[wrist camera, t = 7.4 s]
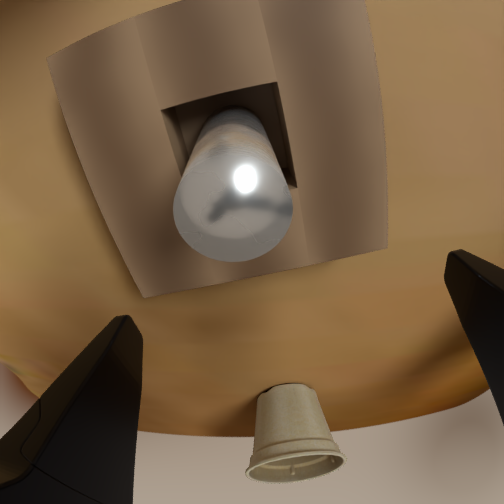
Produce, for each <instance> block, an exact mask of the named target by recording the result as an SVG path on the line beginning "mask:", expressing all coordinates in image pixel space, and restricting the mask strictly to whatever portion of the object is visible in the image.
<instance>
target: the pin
mask: <svg viewBox="0 0 504 504" xmlns="http://www.w3.org/2000/svg"><path fill="white" fill-rule="evenodd" d="M173 215H174V220H175V224H176V227H177V229H178V231H179V233H180V235H181V236H182V238H183V239H184V240H185V241H186V243H187V244H188V245H189V246H191V247H192V248H193V249H194V250H196V251H197V252H199V253H200V254H202V255H204V256H206V257H209V258H211V259H215V260H218V261H224V262H241V261H247V260H251V259H254V258H257V257H259V256H261V255H263V254H265V253H267V252H268V251H270V250H271V249H273V248H274V247H275V246H276V245H277V244H278V243H279V242H280V241H281V240H282V238H283V237H284V236H285V234H286V232H287V230H288V228H289V226H290V223H291V220H292V215H293V203H292V197H291V193H290V191H289V188H288V186H287V183H286V181H285V178H284V176H283V173H282V171H281V168H280V166H279V163H278V161H277V158H276V156H275V153H274V151H273V149H272V146H271V144H270V141H269V139H268V137H267V134H266V132H265V129H264V127H263V125H262V122H261V120H260V119H259V117H258V116H257V115H256V114H255V113H254V112H253V111H251V110H250V109H248V108H246V107H243V106H239V105H228V106H224V107H221V108H219V109H217V110H215V111H214V112H213V113H211V115H210V116H209V117H208V118H207V120H206V121H205V123H204V126H203V128H202V130H201V132H200V135H199V137H198V139H197V142H196V144H195V146H194V149H193V151H192V154H191V156H190V158H189V161H188V163H187V166H186V168H185V171H184V173H183V176H182V178H181V181H180V183H179V186H178V188H177V191H176V194H175V197H174V203H173Z"/></svg>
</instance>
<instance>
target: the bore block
mask: <svg viewBox="0 0 504 504" xmlns="http://www.w3.org/2000/svg"><path fill="white" fill-rule="evenodd" d="M47 62H48V66H49V69H50V73H51V76H52V80H53V83H54V87H55V90H56V93H57V96H58V100H59V103H60V106H61V109H62V112H63V115H64V118H65V121H66V124H67V127H68V130H69V132H70V135H71V138H72V141H73V144H74V146H75V149H76V152H77V154H78V157H79V159H80V162H81V165H82V167H83V170H84V172H85V175H86V177H87V180H88V182H89V185H90V187H91V189H92V192H93V194H94V196H95V199H96V201H97V203H98V206H99V208H100V210H101V213H102V215H103V217H104V219H105V221H106V224H107V226H108V228H109V230H110V232H111V234H112V237H113V239H114V241H115V243H116V245H117V247H118V249H119V251H120V253H121V255H122V257H123V259H124V261H125V263H126V265H127V267H128V269H129V271H130V273H131V275H132V277H133V279H134V281H135V283H136V285H137V287H138V289H139V290H140V292H141V294H142V296H143V298H147V297H153V296H158V295H163V294H169V293H174V292H179V291H185V290H190V289H195V288H200V287H206V286H211V285H216V284H221V283H226V282H231V281H236V280H241V279H246V278H251V277H256V276H261V275H266V274H271V273H275V272H280V271H285V270H290V269H295V268H299V267H304V266H309V265H314V264H318V263H323V262H328V261H332V260H337V259H341V258H346V257H350V256H355V255H359V254H364V253H368V252H373V251H377V250H382V249H386V248H388V186H387V161H386V144H385V131H384V120H383V109H382V100H381V92H380V84H379V76H378V69H377V63H376V56H375V50H374V44H373V39H372V33H371V28H370V23H369V18H368V13H367V9H366V4H365V0H182V1H179V2H175V3H172V4H169V5H166V6H163V7H159V8H156V9H154V10H151V11H148V12H145V13H142V14H139V15H137V16H134V17H132V18H129V19H126V20H124V21H121V22H119V23H117V24H114V25H112V26H109V27H107V28H105V29H103V30H100V31H98V32H96V33H94V34H92V35H90V36H87V37H85V38H83V39H81V40H79V41H77V42H75V43H73V44H71V45H69V46H68V47H66V48H64V49H62V50H60V51H58V52H56V53H55V54H53V55H51V56H49V57H48V58H47ZM228 105H239V106H243V107H246V108H248V109H250V110H251V111H253V112H254V113H255V114H256V115H257V116H258V117H259V119H260V120H261V122H262V125H263V127H264V129H265V132H266V134H267V137H268V139H269V141H270V144H271V146H272V149H273V151H274V153H275V156H276V158H277V161H278V163H279V166H280V168H281V171H282V173H283V176H284V178H285V181H286V183H287V186H288V188H289V191H290V193H291V197H292V203H293V215H292V220H291V223H290V226H289V228H288V230H287V232H286V234H285V236H284V237H283V238H282V240H281V241H280V242H279V243H278V244H277V245H276V246H275V247H274V248H273V249H271V250H270V251H268V252H267V253H265V254H263V255H261V256H259V257H257V258H254V259H251V260H247V261H241V262H224V261H218V260H215V259H211V258H209V257H206V256H204V255H202V254H200V253H199V252H197V251H196V250H194V249H193V248H192V247H191V246H189V245H188V244H187V243H186V241H185V240H184V239H183V238H182V236H181V235H180V233H179V231H178V229H177V227H176V224H175V220H174V215H173V203H174V197H175V194H176V191H177V188H178V186H179V183H180V181H181V178H182V176H183V173H184V171H185V168H186V166H187V163H188V161H189V158H190V156H191V154H192V151H193V149H194V146H195V144H196V142H197V139H198V137H199V135H200V132H201V130H202V128H203V126H204V123H205V121H206V120H207V118H208V117H209V116H210V115H211V113H213V112H214V111H215V110H217V109H219V108H221V107H224V106H228Z"/></svg>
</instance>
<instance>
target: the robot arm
mask: <svg viewBox="0 0 504 504" xmlns="http://www.w3.org/2000/svg"><path fill="white" fill-rule="evenodd" d="M444 281H445V284H446V286H447V289H448V291H449V294H450V296H451V299H452V301H453V304H454V306H455V309H456V311H457V314H458V316H459V319H460V322H461V324H462V326H463V329H464V331H465V333H466V335H467V337H468V339H469V341H470V343H471V346H472V348H473V350H474V352H475V354H476V356H477V359H478V361H479V363H480V366H481V368H482V370H483V373H484V375H485V377H486V380H487V382H488V385H489V387H490V390H491V392H492V395H493V397H494V400H495V402H496V405H497V408H498V411H499V413H500V416H501V419H502V422H503V424H504V269H502V268H500V267H498V266H496V265H494V264H492V263H490V262H488V261H486V260H484V259H481V258H479V257H477V256H475V255H473V254H471V253H469V252H467V251H464V250H462V249H459V250H455V251H451V252H449V254H448V256H447V262H446V267H445V273H444ZM142 360H143V338H142V335H141V333H140V331H139V330H138V328H137V326H136V325H135V323H134V321H133V320H132V318H131V317H130V316H129V315H122V316H116V317H115V318H114V319H113V320H112V321H111V322H110V323H109V324H108V325H107V326H106V327H105V328H104V329H103V330H102V331H101V332H100V333H99V334H98V335H97V336H96V337H95V338H94V339H93V340H92V341H91V342H90V343H89V344H88V346H87V347H86V348H85V349H84V350H83V351H82V352H81V353H80V354H79V355H78V356H77V357H76V358H75V359H74V360H73V362H72V363H71V364H70V365H69V366H68V367H67V368H66V369H65V370H64V371H63V372H62V373H61V374H60V376H59V377H58V378H57V379H56V380H55V381H54V382H53V383H52V384H51V385H50V387H49V388H48V389H47V390H46V391H45V392H44V393H43V394H42V395H41V397H40V399H38V400H37V401H36V402H35V403H34V405H33V406H32V407H31V408H30V409H29V410H28V411H27V412H26V413H25V415H24V416H23V417H22V418H21V419H20V420H19V421H18V422H17V423H16V424H15V425H14V426H13V427H12V428H11V429H10V430H9V431H8V432H7V433H6V434H5V435H4V436H3V437H2V438H1V439H0V504H133V484H134V483H133V482H134V467H135V466H134V465H135V453H136V440H137V429H138V419H139V409H140V400H141V391H142Z"/></svg>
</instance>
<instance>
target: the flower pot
mask: <svg viewBox="0 0 504 504" xmlns="http://www.w3.org/2000/svg"><path fill="white" fill-rule="evenodd" d="M346 461H347V458H346V456H345V455H344V454H343V453H341V452H340V450H339V447H338V445H337V444H336V443H335V442H334V441H333V438H332V435H331V433H330V430H329V427H328V425H327V422H326V420H325V417H324V414H323V412H322V409H321V407H320V404H319V401H318V398H317V395H316V392H315V391H314V389H310V388H308V387H307V386H305V385H303V384H284V385H278V386H275V387H273V388H271V390H269V391H268V392H266V393H262V394H261V395H260V396H259V398H258V400H257V412H256V426H255V437H254V448H253V455H252V456H251V458H250V465H249V467H248V468H247V469H246V472H245V473H246V476H247V478H249V479H251V480H253V481H258V482H262V483H279V484H280V483H293V482H299V481H304V480H310V479H314V478H317V477H321V476H324V475H327V474H329V473H331V472H334V471H336V470H338V469H339V468H341V467H342V466H343V465H344V464H345V463H346Z"/></svg>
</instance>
